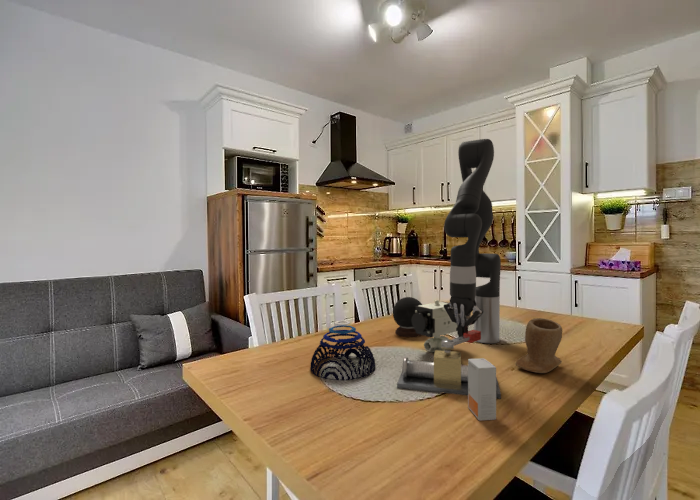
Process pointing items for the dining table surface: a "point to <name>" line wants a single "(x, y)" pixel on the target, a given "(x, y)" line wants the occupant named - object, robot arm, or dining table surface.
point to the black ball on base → (405, 316)
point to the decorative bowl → (365, 352)
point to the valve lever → (461, 339)
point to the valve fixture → (438, 374)
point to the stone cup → (541, 346)
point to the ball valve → (433, 324)
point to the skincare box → (482, 389)
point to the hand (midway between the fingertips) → (462, 337)
